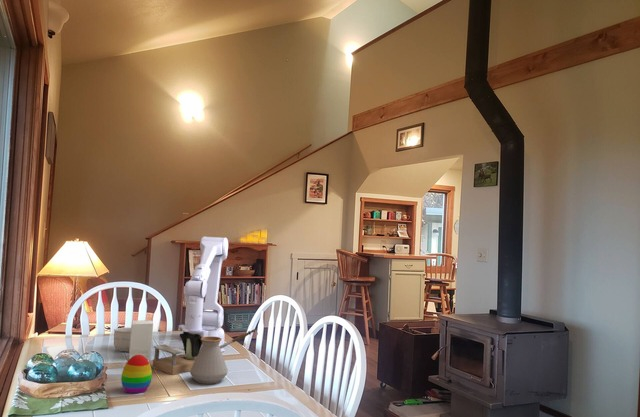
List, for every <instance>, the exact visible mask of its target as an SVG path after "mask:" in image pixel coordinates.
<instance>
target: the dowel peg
mask: <svg viewBox="0 0 640 417" xmlns="http://www.w3.org/2000/svg"><path fill="white" fill-rule="evenodd" d="M186 359H187V360H194V359H196V357H192V354H191V342H190V339H189V338H188V339H187V346H186Z"/></svg>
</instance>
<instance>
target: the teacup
mask: <svg viewBox="0 0 640 417" xmlns="http://www.w3.org/2000/svg"><path fill="white" fill-rule="evenodd" d="M113 331H114V332H113V346H114V348H116V350H117V351H119V352H129V349H130V336H131V327H119V328H118V327H117V328H115V329H114V330H113Z"/></svg>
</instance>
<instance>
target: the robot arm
mask: <svg viewBox="0 0 640 417" xmlns="http://www.w3.org/2000/svg"><path fill="white" fill-rule="evenodd" d="M199 244H200V245H199V249H200V253H201V257H200V261H199V264H197V265H196V266H195V267H194V270H193V271H192V275H191V277H190V280H188V281H186V283H185V286H184V296H185V297H184V301H185V303H186V304H185V305H186V306H185V319H184V324H179V325H178V328H177V329H178V330H177V331H179V332H181V333H180V334H179V338H180V340H181V343H182V345H183V349H184V350H183V351H185V353H184V354H185V355H186V346H187V339H188V338H189V339H190V342H191V354H192V357H196V356H198V354H199V351H200V349H201V347H202V341H201V338H202V337H220V338H221V339H222V340H221V341H220V343H219V346H221V345H223V344H225V330H224V329H223V327H222V326H223V325H224V317H225V316H224V307H222V305H220V304H219V303H218V300H219V298H218V297H219V290H220V289H219V288H220V282H221V271H222V265H223V261H226V259H227V257H228V254H229V253H228V250H229V240H228V238H227V237H215V236H205V235H204V236H203V237H202V238H201V239H200V243H199ZM204 298H205V299H204ZM204 310H213V311H204ZM224 348H225V347H223V348H221V352H222V353H223V352H225V351H226V350H225V349H224Z"/></svg>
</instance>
